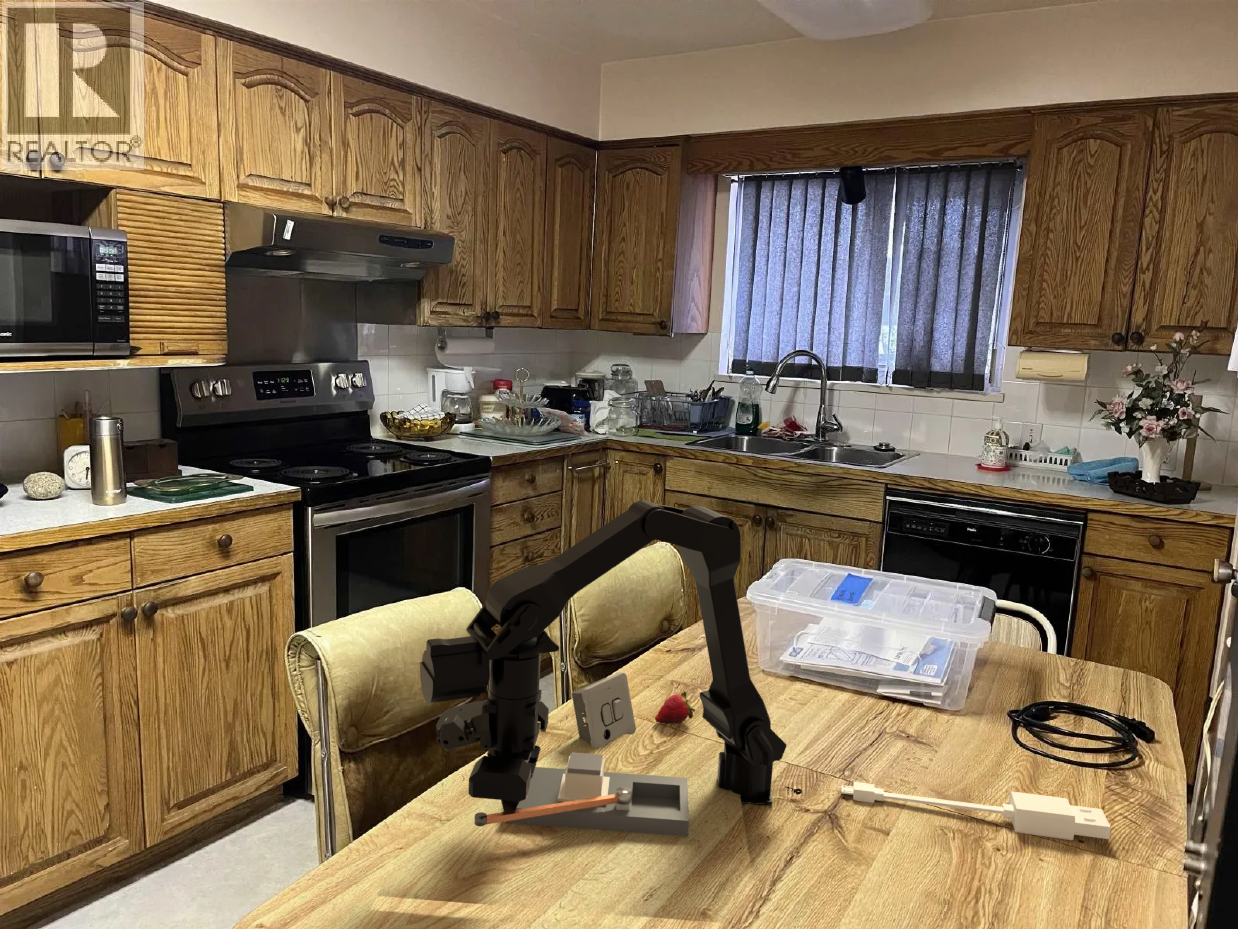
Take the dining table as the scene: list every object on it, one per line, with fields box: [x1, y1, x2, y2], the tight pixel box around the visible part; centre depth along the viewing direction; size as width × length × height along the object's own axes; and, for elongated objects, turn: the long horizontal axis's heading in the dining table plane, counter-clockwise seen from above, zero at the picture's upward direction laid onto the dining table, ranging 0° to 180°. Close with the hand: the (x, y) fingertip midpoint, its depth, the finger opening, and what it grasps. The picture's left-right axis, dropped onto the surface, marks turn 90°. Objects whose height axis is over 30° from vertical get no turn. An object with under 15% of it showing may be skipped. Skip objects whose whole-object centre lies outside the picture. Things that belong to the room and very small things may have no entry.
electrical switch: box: [571, 672, 637, 749], centre depth 134 cm, size 9×5×9 cm, turn 141°
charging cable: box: [840, 781, 1111, 841], centre depth 119 cm, size 5×32×3 cm, turn 76°
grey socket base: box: [505, 766, 690, 837], centre depth 114 cm, size 22×10×4 cm, turn 87°
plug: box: [558, 751, 610, 802], centre depth 114 cm, size 6×6×6 cm
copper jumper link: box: [474, 787, 632, 827], centre depth 108 cm, size 19×2×1 cm, turn 111°
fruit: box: [654, 691, 696, 724], centre depth 140 cm, size 4×6×5 cm
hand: (509, 813), depth 107 cm, fingers closed
